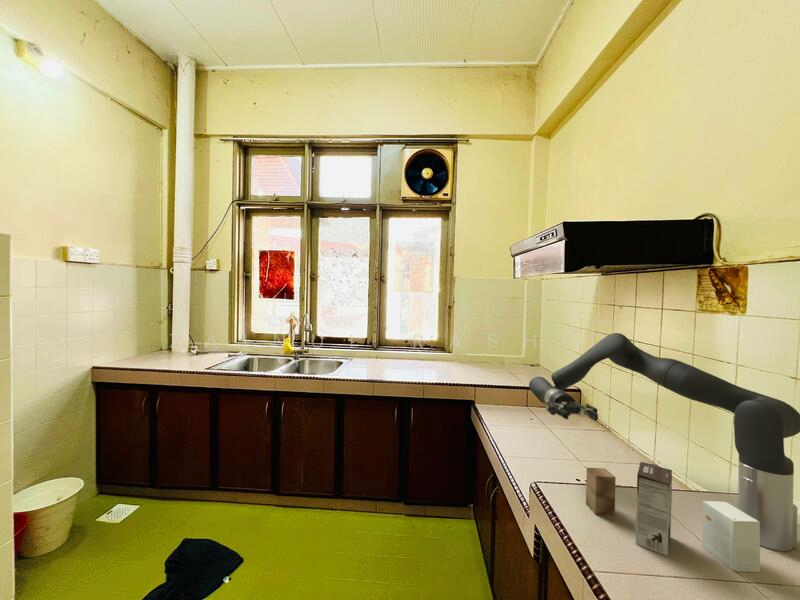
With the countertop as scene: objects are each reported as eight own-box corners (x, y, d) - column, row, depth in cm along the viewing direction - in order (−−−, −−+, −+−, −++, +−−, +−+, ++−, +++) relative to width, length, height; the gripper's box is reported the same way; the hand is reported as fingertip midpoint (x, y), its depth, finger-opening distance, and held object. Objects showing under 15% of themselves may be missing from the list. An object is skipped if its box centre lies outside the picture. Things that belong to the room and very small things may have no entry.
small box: (760, 573, 74) (761, 522, 74) (733, 572, 74) (734, 521, 74) (725, 547, 82) (726, 501, 82) (701, 546, 82) (702, 500, 82)
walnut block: (604, 505, 98) (605, 468, 98) (614, 515, 93) (615, 477, 93) (585, 504, 98) (586, 467, 98) (595, 514, 93) (596, 476, 93)
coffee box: (638, 525, 89) (640, 460, 89) (671, 537, 85) (672, 469, 85) (634, 544, 82) (636, 473, 82) (669, 557, 78) (671, 483, 78)
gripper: (539, 389, 123) (558, 403, 107) (580, 391, 123) (606, 405, 107) (538, 411, 123) (557, 428, 107) (579, 413, 123) (605, 430, 107)
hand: (581, 416), depth 107 cm, fingers open, 8 cm apart
